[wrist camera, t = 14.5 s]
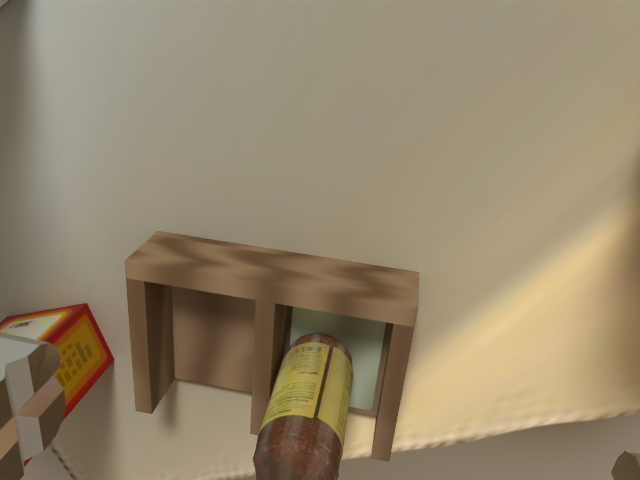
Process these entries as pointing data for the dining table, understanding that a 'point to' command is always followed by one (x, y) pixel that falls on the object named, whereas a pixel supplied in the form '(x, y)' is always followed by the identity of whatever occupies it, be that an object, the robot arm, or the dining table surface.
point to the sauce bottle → (306, 412)
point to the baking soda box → (67, 346)
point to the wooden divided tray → (265, 322)
